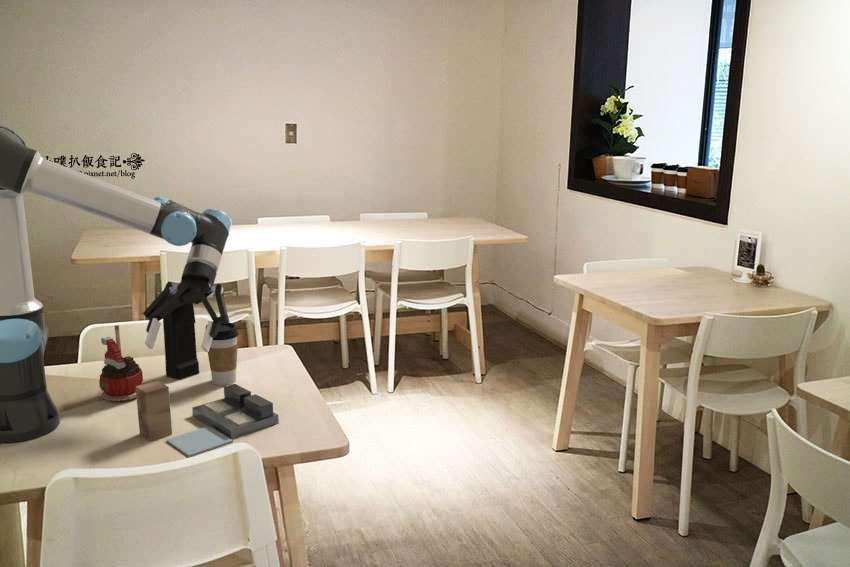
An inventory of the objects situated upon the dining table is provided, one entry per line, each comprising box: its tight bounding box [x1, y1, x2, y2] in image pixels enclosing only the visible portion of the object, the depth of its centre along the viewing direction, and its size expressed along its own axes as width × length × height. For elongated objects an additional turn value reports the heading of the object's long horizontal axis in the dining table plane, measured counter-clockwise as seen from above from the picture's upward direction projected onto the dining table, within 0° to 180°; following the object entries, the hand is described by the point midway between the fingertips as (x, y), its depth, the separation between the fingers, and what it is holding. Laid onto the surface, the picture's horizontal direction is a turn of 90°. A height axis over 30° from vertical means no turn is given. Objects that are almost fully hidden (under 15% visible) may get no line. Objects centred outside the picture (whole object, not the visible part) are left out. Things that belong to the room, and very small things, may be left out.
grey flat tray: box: [191, 383, 280, 440], centre depth 174 cm, size 17×12×5 cm
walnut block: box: [136, 380, 173, 442], centre depth 165 cm, size 5×5×11 cm
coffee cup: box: [204, 321, 239, 386], centre depth 195 cm, size 8×8×15 cm
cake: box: [98, 324, 144, 402], centre depth 185 cm, size 11×9×18 cm
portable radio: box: [162, 291, 200, 380], centre depth 199 cm, size 8×6×25 cm
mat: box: [166, 425, 234, 458], centre depth 163 cm, size 10×10×1 cm
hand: (176, 348), depth 173 cm, fingers open, 13 cm apart
